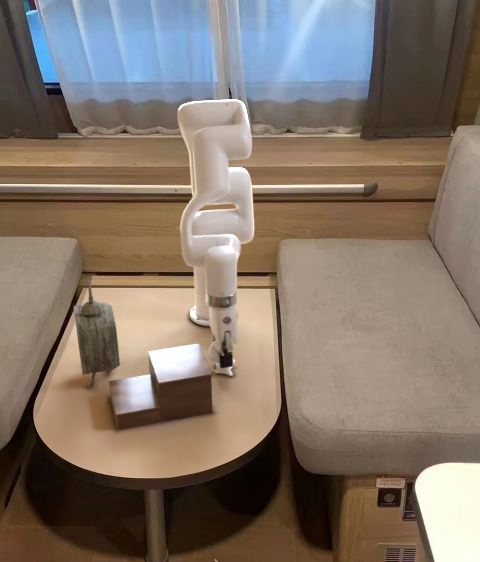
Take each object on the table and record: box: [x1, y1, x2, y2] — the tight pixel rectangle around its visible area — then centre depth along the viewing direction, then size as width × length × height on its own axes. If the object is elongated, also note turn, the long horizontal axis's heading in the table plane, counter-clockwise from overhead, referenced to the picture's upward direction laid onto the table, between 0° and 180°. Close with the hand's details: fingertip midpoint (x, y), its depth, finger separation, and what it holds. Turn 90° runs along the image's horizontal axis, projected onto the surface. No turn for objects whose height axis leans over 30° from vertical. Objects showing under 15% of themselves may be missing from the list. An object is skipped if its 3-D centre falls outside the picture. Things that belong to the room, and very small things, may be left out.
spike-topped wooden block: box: [73, 282, 121, 388], centre depth 184 cm, size 14×9×25 cm, turn 13°
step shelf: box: [108, 343, 214, 431], centre depth 175 cm, size 13×22×11 cm, turn 105°
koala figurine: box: [208, 339, 236, 377], centre depth 187 cm, size 8×7×12 cm
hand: (222, 358), depth 189 cm, fingers closed on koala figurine, 5 cm apart
